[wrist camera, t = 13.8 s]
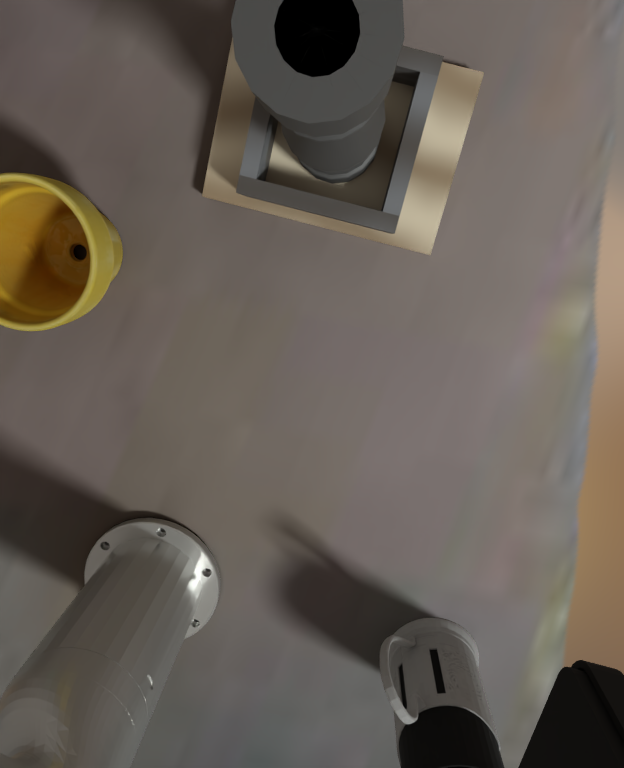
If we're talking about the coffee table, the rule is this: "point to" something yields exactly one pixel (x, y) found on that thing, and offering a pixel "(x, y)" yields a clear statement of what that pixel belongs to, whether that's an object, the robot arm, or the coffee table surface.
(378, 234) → the socket board
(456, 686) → the glass holder
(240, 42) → the candle holder
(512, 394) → the coffee table surface
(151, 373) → the coffee table surface
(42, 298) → the plant pot
